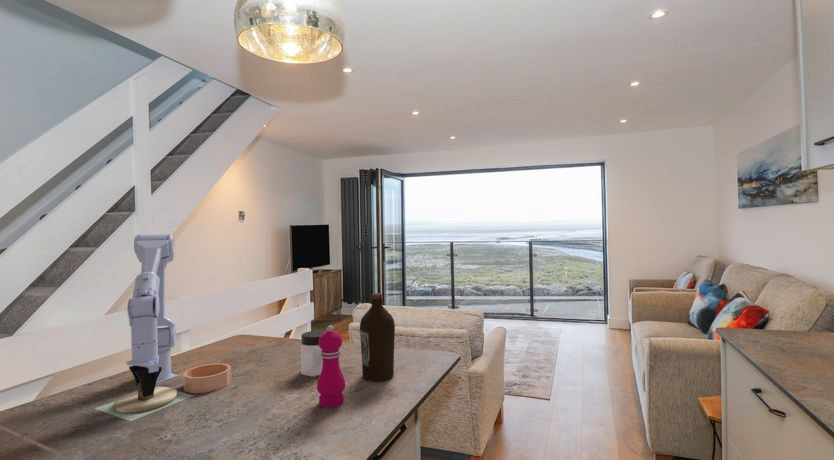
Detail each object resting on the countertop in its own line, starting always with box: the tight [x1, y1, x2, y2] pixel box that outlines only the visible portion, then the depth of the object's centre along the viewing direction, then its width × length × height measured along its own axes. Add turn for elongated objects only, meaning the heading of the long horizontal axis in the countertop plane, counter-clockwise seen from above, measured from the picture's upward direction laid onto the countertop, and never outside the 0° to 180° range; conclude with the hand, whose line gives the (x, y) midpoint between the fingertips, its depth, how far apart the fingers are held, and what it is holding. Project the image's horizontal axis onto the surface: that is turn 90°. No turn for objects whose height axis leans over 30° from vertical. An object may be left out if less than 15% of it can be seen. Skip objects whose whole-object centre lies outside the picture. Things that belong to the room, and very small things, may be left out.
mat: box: [94, 385, 195, 422], centre depth 108 cm, size 16×16×1 cm
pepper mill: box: [316, 324, 346, 408], centre depth 107 cm, size 7×7×20 cm
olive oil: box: [359, 292, 396, 382], centre depth 125 cm, size 11×11×25 cm
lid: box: [113, 382, 178, 413], centre depth 108 cm, size 14×14×5 cm
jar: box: [300, 330, 326, 378], centre depth 129 cm, size 9×8×12 cm
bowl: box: [183, 362, 232, 394], centre depth 119 cm, size 12×12×4 cm
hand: (145, 393), depth 108 cm, fingers closed on lid, 3 cm apart
